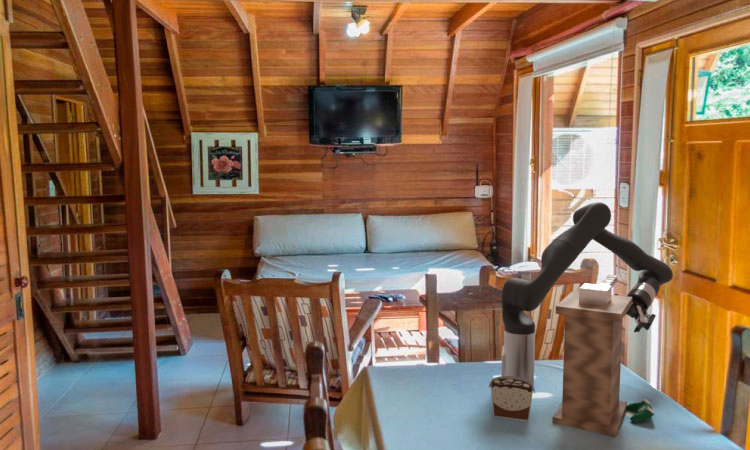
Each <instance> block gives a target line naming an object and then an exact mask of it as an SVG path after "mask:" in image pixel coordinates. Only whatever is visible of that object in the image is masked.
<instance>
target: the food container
mask: <svg viewBox="0 0 750 450" xmlns="http://www.w3.org/2000/svg"><path fill="white" fill-rule="evenodd" d="M489 388H490V391H491V405H492V412H493V413H492V415H493V417H496V418H503V419H509V420H517V421H524V422H525V421H526V422H529V421H530V413H531V405H532V400H533V393H534V394H536V390H535V386H533V384H532V382H530V381H529V380H527V379H524V378H521V377H516V376H497V377H494V378H492V379H491V380H490V381H489V385H488V389H489Z"/></svg>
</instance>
